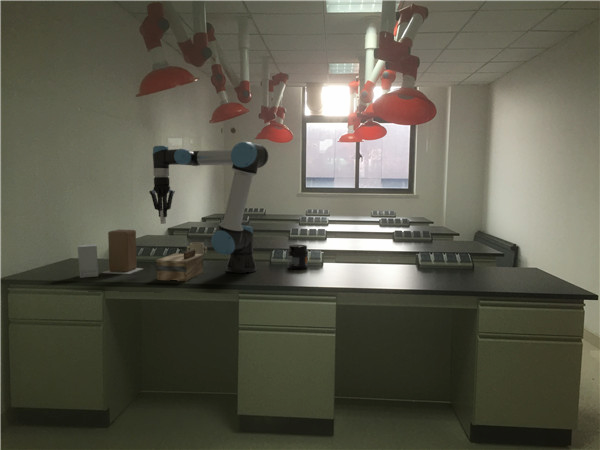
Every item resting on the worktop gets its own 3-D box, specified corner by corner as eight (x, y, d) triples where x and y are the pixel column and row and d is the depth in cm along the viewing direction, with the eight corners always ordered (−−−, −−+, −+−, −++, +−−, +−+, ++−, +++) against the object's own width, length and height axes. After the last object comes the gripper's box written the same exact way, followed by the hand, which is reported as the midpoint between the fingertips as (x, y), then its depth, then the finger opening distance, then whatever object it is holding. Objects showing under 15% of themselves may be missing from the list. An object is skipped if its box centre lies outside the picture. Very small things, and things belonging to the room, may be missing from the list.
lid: (203, 256, 226) (203, 248, 226) (186, 263, 206) (186, 254, 206) (175, 255, 229) (175, 247, 228) (155, 262, 208) (155, 253, 208)
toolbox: (202, 272, 227) (202, 256, 226) (186, 281, 207) (186, 263, 206) (175, 271, 229) (175, 255, 229) (156, 280, 209) (156, 262, 208)
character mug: (209, 266, 244) (209, 242, 243) (205, 269, 237) (205, 244, 236) (189, 266, 245) (188, 242, 244) (184, 268, 238) (184, 243, 237)
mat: (143, 269, 235) (143, 268, 235) (129, 274, 221) (129, 273, 221) (118, 268, 237) (118, 267, 237) (102, 273, 223) (102, 272, 223)
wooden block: (137, 268, 234) (136, 229, 232) (127, 272, 224) (126, 231, 222) (118, 268, 235) (118, 229, 233) (108, 271, 225) (107, 231, 223)
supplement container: (309, 266, 246) (309, 244, 245) (305, 270, 236) (305, 247, 235) (290, 265, 249) (290, 244, 248) (285, 269, 239) (285, 246, 238)
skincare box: (98, 274, 220) (97, 243, 219) (98, 276, 215) (97, 245, 214) (78, 275, 217) (77, 244, 215) (78, 278, 211) (77, 246, 210)
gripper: (176, 176, 233) (178, 223, 235) (153, 177, 236) (154, 223, 238) (170, 176, 226) (171, 224, 228) (145, 176, 228) (147, 224, 230)
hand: (163, 223), depth 233 cm, fingers closed
